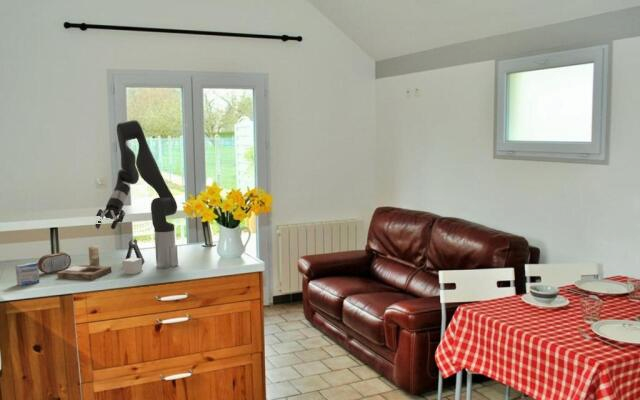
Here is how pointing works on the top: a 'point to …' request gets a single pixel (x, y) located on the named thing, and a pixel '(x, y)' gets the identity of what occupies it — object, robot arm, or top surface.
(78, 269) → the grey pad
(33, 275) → the medicine box
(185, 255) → the top surface
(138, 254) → the dark grey angled piece
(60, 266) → the tin
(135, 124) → the robot arm
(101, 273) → the brown wooden tray
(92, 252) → the birch peg
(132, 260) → the white rounded cube
